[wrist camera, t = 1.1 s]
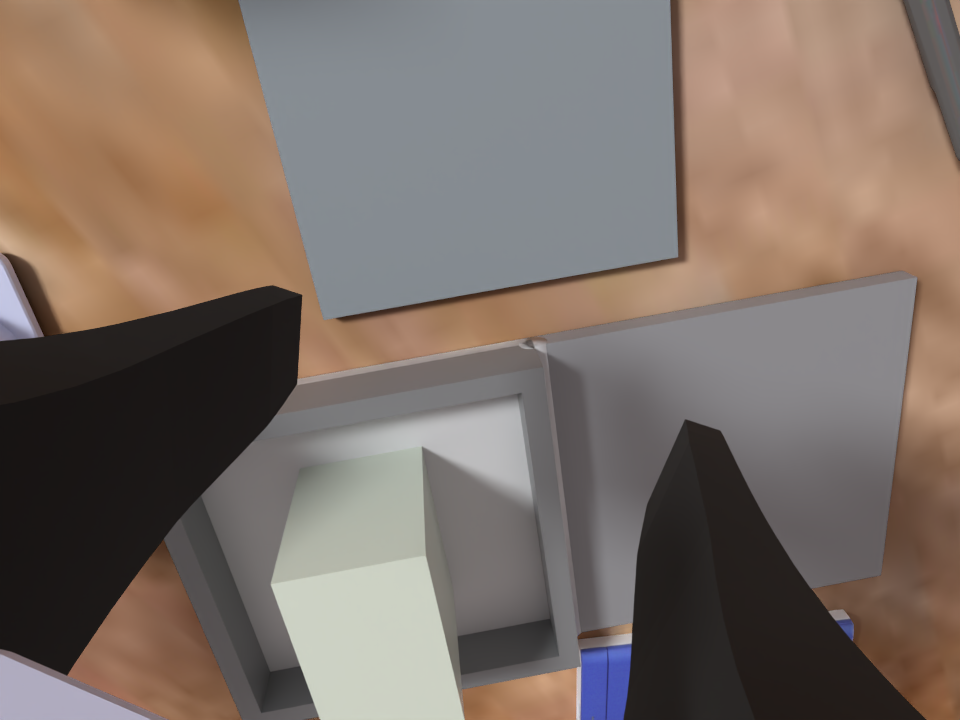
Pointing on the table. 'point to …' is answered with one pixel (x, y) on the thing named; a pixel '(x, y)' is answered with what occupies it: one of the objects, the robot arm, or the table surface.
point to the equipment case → (570, 469)
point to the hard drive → (622, 673)
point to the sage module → (370, 591)
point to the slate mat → (469, 140)
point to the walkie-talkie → (940, 57)
